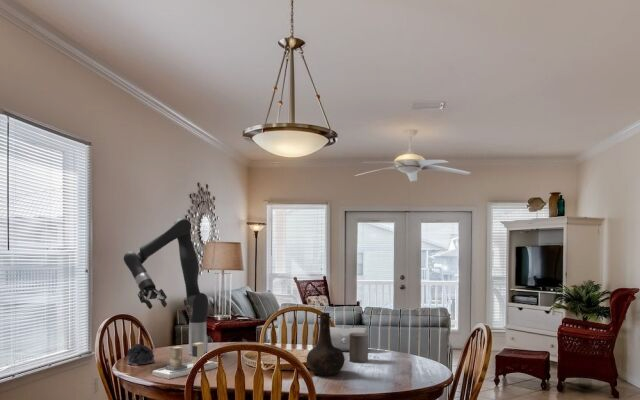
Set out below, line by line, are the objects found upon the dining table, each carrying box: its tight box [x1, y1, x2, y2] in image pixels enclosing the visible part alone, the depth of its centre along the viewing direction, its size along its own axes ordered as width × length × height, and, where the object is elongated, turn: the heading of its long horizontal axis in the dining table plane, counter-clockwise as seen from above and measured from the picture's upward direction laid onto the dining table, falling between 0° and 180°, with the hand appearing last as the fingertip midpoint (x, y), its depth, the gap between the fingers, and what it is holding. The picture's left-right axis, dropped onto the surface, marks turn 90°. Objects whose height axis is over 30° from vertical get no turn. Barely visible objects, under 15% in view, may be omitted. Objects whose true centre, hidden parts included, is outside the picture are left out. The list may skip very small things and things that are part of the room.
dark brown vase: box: [306, 312, 345, 376], centre depth 270 cm, size 18×18×28 cm
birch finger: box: [169, 346, 183, 368], centre depth 270 cm, size 4×4×10 cm
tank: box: [330, 326, 370, 352], centre depth 322 cm, size 25×16×12 cm, turn 81°
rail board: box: [152, 342, 218, 380], centre depth 275 cm, size 30×12×12 cm, turn 142°
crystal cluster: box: [126, 343, 155, 366], centre depth 294 cm, size 13×14×10 cm
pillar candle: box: [348, 331, 369, 364], centre depth 296 cm, size 10×10×15 cm
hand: (158, 307), depth 291 cm, fingers open, 8 cm apart
